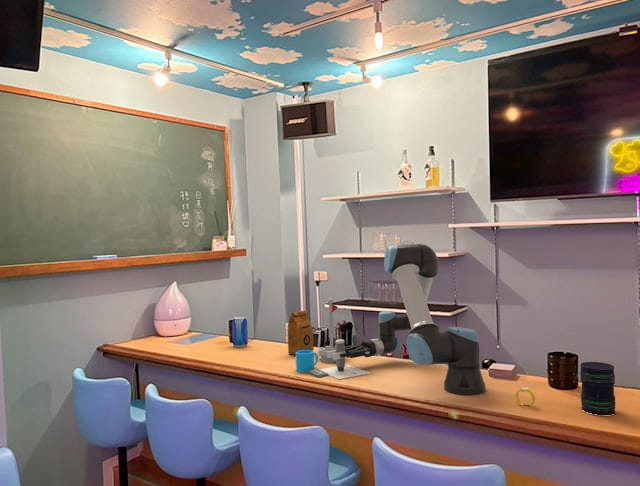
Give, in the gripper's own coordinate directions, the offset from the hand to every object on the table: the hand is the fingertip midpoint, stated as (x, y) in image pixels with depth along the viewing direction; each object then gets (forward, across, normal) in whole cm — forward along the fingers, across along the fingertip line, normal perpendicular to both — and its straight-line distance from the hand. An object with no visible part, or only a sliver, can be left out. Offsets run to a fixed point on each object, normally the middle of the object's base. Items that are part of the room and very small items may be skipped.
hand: (330, 355), depth 221 cm
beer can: (+5, +81, -8) cm, 81 cm away
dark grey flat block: (+5, +3, -8) cm, 10 cm away
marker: (-5, 0, -7) cm, 9 cm away
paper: (-6, -2, -8) cm, 10 cm away
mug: (+3, +13, -8) cm, 16 cm away
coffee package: (-11, +42, -8) cm, 44 cm away
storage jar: (-40, -94, -8) cm, 103 cm away
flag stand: (-16, +21, -8) cm, 27 cm away
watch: (-27, -76, -8) cm, 81 cm away
